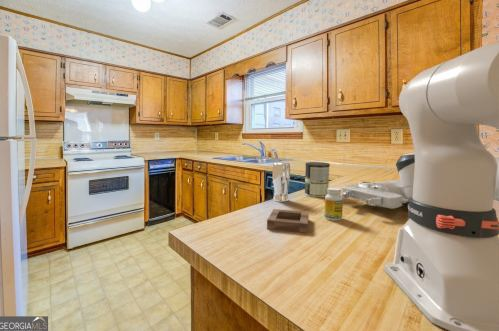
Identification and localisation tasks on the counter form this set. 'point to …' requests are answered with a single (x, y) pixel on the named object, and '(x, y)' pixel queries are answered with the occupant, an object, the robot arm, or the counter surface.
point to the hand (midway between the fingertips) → (355, 198)
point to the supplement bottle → (333, 204)
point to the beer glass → (281, 181)
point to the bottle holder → (288, 220)
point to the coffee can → (316, 179)
